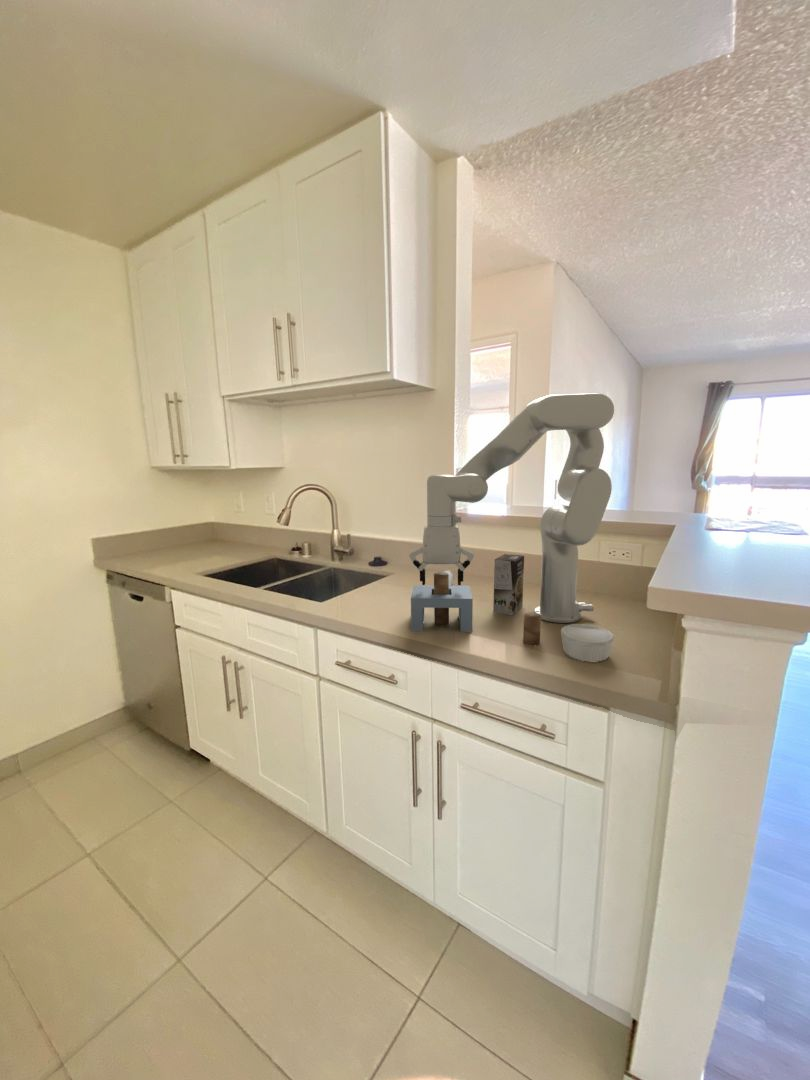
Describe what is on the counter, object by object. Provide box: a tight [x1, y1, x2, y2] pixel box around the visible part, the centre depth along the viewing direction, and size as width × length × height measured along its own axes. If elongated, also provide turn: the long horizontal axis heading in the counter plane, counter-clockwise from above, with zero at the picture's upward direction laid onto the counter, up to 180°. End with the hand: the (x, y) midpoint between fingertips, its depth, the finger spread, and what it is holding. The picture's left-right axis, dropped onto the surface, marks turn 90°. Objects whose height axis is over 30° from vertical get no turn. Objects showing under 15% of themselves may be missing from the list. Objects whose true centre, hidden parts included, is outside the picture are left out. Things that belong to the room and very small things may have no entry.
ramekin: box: [560, 623, 615, 662], centre depth 99 cm, size 11×11×5 cm
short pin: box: [522, 611, 542, 647], centre depth 106 cm, size 4×4×7 cm
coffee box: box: [492, 553, 525, 616], centre depth 129 cm, size 9×6×16 cm
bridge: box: [410, 584, 474, 633], centre depth 119 cm, size 16×12×9 cm
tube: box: [441, 569, 455, 586], centre depth 147 cm, size 5×5×25 cm
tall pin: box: [433, 571, 450, 627], centre depth 119 cm, size 4×4×14 cm
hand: (441, 583), depth 118 cm, fingers open, 9 cm apart
